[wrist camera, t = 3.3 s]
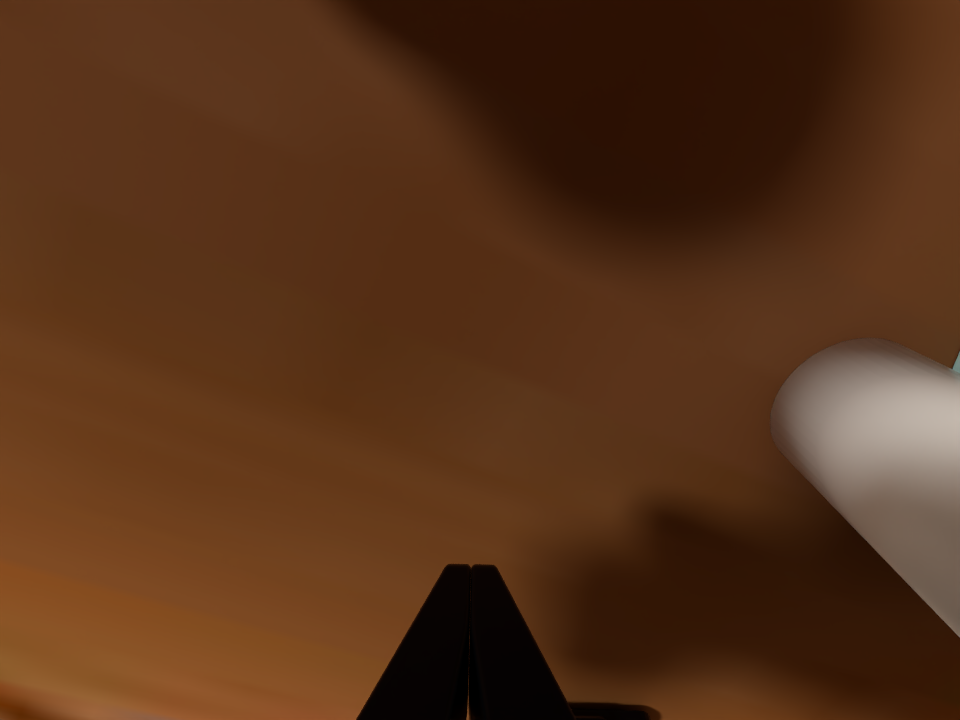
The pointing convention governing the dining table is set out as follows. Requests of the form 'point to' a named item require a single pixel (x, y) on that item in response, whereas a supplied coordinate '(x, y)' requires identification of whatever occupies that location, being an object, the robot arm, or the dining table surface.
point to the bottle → (883, 455)
